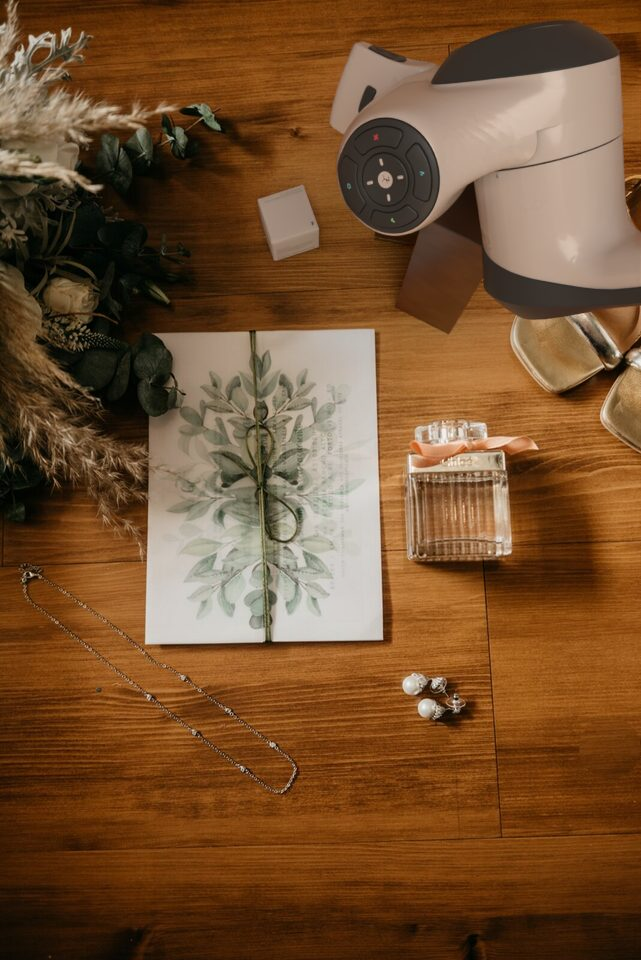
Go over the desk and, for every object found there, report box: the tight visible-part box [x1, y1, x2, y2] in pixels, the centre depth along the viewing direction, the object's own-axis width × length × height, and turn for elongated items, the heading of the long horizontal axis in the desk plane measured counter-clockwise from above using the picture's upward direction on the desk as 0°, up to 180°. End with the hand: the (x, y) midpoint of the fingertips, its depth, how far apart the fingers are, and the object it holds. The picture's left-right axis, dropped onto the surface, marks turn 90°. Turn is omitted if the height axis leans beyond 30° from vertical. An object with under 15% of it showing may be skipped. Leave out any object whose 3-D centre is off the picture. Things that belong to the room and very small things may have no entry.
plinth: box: [395, 181, 483, 335], centre depth 72 cm, size 7×7×23 cm
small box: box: [257, 184, 320, 262], centre depth 82 cm, size 6×6×5 cm
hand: (466, 103), depth 67 cm, fingers closed on packet, 4 cm apart
